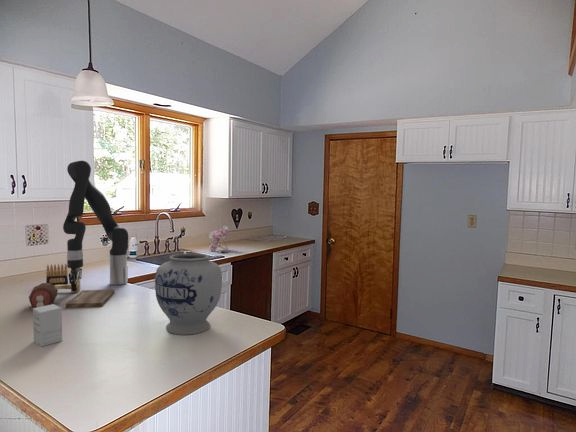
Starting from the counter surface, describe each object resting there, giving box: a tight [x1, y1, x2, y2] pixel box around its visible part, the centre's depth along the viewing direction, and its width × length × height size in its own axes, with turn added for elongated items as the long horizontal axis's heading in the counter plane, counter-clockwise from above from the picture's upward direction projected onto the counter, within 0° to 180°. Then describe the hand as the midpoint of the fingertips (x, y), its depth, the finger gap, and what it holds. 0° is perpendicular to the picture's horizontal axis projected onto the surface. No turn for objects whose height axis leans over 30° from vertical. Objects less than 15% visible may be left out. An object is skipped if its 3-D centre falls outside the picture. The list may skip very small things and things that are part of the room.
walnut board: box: [64, 289, 116, 309], centre depth 196 cm, size 16×24×2 cm, turn 11°
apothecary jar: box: [154, 253, 223, 336], centre depth 162 cm, size 27×27×30 cm
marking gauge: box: [54, 279, 81, 293], centre depth 210 cm, size 12×5×6 cm, turn 101°
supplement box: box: [32, 303, 63, 347], centre depth 144 cm, size 7×7×13 cm
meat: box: [28, 282, 58, 309], centre depth 184 cm, size 20×12×10 cm, turn 24°
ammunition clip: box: [45, 263, 69, 286], centre depth 224 cm, size 11×2×12 cm, turn 115°
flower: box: [208, 225, 231, 253], centre depth 348 cm, size 20×22×25 cm
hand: (75, 289), depth 211 cm, fingers closed on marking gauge, 5 cm apart
